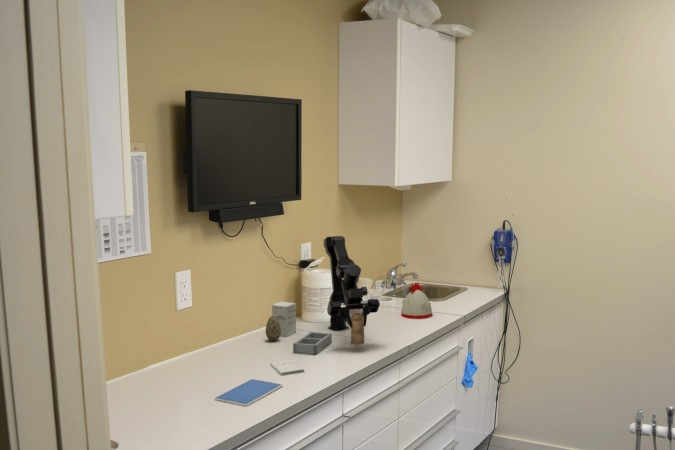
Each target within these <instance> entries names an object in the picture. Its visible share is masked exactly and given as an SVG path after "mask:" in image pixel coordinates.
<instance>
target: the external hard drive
mask: <svg viewBox="0 0 675 450" xmlns="http://www.w3.org/2000/svg"><path fill="white" fill-rule="evenodd" d="M269 363H270V364H269V365H270V367H272V368H273V369H274V370H275V371H276V373H278V374H279V375H280V376H286V375H289V376H290V375H293V374H295V375H296V374H301V373H305V369H304V368H303V367H302V366H301V365H299V364H298V363H297V362H295V361H294V360H293V359H285V360H280V361H279V360H278V361H271V362H269Z"/></svg>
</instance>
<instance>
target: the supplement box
mask: <svg viewBox="0 0 675 450" xmlns="http://www.w3.org/2000/svg"><path fill="white" fill-rule="evenodd" d="M296 306H297V303H295V302H289V301H279V302H278V301H277V302H276V303H273V304H271V310H272V313H271V314H272V315H271V316H275V317H276V318H277V320H278V321H279V324H280V328H281V334H280V337H289V336H292V335H294V334H296V333H297V309H296V308H297V307H296Z"/></svg>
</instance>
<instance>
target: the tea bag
mask: <svg viewBox="0 0 675 450" xmlns="http://www.w3.org/2000/svg"><path fill="white" fill-rule="evenodd" d="M361 303H364V299H363V300H362V301H361ZM362 311H363V310H362V309H354V310H350V313H349V315H350V318H351V317H352V315H353V314H355V313H360V314H362Z"/></svg>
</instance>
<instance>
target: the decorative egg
mask: <svg viewBox="0 0 675 450" xmlns="http://www.w3.org/2000/svg"><path fill="white" fill-rule="evenodd" d="M280 334H281V328H280V324H279V321H278V320H277V318H276V317H275V316H272V315H271V316H269V318H268V320H267V322H266V325H265V335H266V338H267V339H268V340H269V341H272V342H275V341H277V340H279V338H280V337H281V335H280Z"/></svg>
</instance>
